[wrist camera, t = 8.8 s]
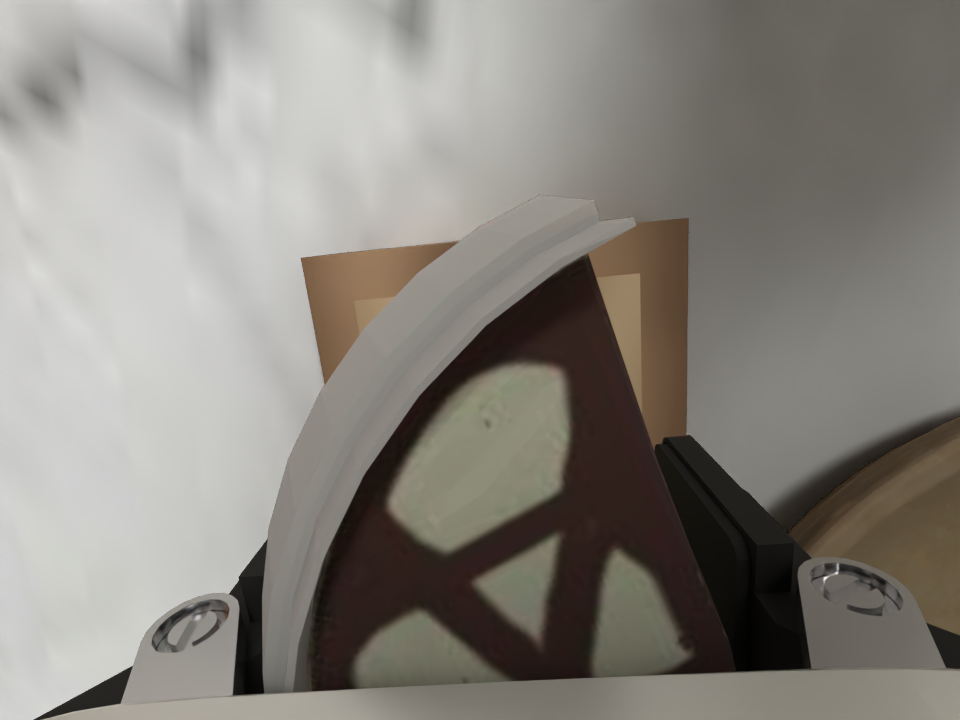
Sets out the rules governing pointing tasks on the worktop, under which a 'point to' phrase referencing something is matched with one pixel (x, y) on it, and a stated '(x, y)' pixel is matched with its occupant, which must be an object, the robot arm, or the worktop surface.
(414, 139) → the worktop surface
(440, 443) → the food container
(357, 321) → the base
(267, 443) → the worktop surface
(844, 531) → the plant saucer
